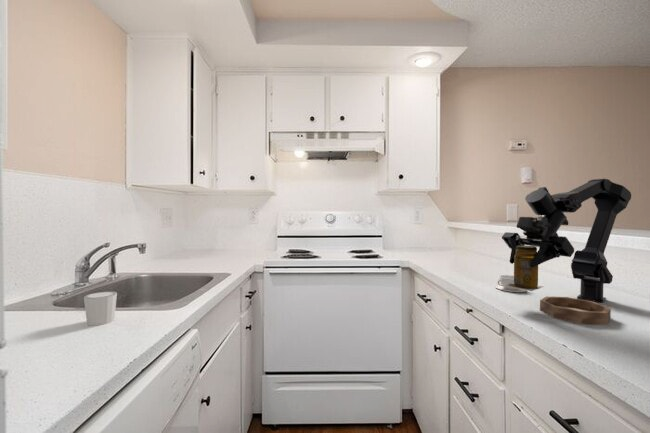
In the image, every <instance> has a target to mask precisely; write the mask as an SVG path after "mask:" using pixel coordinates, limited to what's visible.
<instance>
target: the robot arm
mask: <svg viewBox="0 0 650 433" xmlns="http://www.w3.org/2000/svg"><path fill="white" fill-rule="evenodd" d="M589 199H593V201H594V205H595V207H596V209H597V212H596V215H595V218H594V221H593V223H592V226H591V229H590V232H589V235H588V238H587V241H586V243H585V247H584V248H583V249H582V250H576V251H575V248H574V246H573V245H572V243H571V242H570V240H569V239H568V238H567V236H559V234H558V231H559V229H560V227H561V226H569V220H568V219H567V216H566V213H567V214H569V213H575V212H577V211H578V210H579V209H580V208H581V207H583V206H582V203H583V202H586V201H587V200H589ZM524 200H525V202H526V204H528V206H529V207H530V208H531V210H532V212H533V213H534V214H535V215H537V216H538V217H532V216H519V217H518V221H517V223H516V226H515V227H516V228H517V229H520V230H522V231H523V232H522V234H523V235H524V236H526V237H521V235H520V234H519V233H518V232H509V231H508V232H504V234H502V236H501V239H502V240H503V241H504V243H505V244H506V245H507V246H508V248H509V249H510V250H511V252H510V255H509V256H510V257H509V263H510V264H512V265H514V255H515V254H516V246H520V245H521V246H534V247H537V248H538V249H537V253H536V255H535V256H534V258H533V260H532V261H531V263H530V266H531V267H535V266H537V265H538V266H539V265H541V264H543V263H545V262H548V261H550V260H553V259H556V258H560V257H567V258H568V257H569V258H571V257H572V256H573V258H572V259H571V262H570V268H571V272H572V273H571V274H572V278H573V279H578V280H580V290H579V292H580V293H579V295H577V296H576V299H581V300H587V301H592V302H596V303H604V302H605V301H606V300H607V297H604V286H605V285H606V284H607V285H610V284H611V283H612V282H613V274H612V273H611V271H610V270H609V268H608V267H607V266H608V260H607V258H606V256H605V254H604V253H605V251H606V248H607V245H608V242H609V239H610V236H611V233H612V230H613V228H614V224H615V221H616V218H617V216H618V214H620V213H621V212H622V211H624V210H625V209H626V208H627V207H628V204H629V202H630V201H631V200H632V192H631V191H630V190H629V189H628V188H626V186H624V185H621V184H618V183H616V182H612V181H611V180H610V179H608V178H595V179H591V180H588V181H587V182H586V183H583V184H582V185H580V186H578V187H575V188H574V189H571V190H570V191H565V192H559V193H555V194H550V192H549V190H548V188H547V187H546V186H544V187H543V186H542V187H538V189H536V190H533V191H531V192H530V193H528V194H526V196H525V197H524ZM564 213H565V214H564ZM573 254H574V255H573ZM604 284H605V285H604Z"/></svg>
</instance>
